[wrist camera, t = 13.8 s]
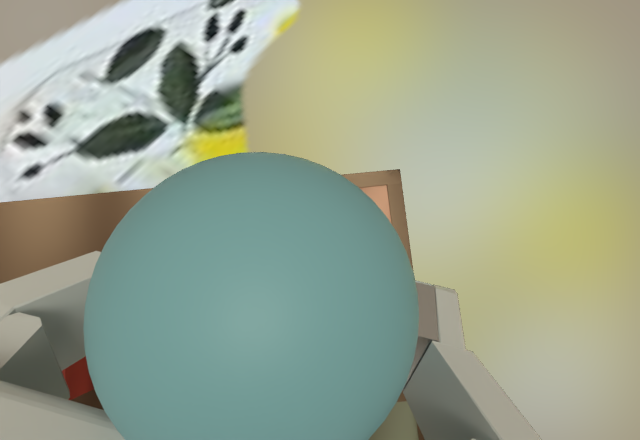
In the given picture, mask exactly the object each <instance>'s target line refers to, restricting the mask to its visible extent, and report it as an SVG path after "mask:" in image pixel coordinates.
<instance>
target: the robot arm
mask: <svg viewBox="0 0 640 440" xmlns="http://www.w3.org/2000/svg"><path fill="white" fill-rule="evenodd" d="M100 254H101V252H99V251H94V252H91V253H88V254H85V255H82V256H80V257H77V258H74V259H71V260H68V261H65V262H62V263H59V264H56V265H53V266H51V267H48V268H45V269H42V270H39V271H36V272H33V273H30V274H27V275H24V276H22V277H19V278H16V279H13V280H10V281H7V282H4V283H1V284H0V440H125V439H124V438H123V436H122V435H121V434H120V433H119V432H118V431H117V429H116V428H115V426H114V425H113V423H112V422H111V420H110V419H109V417H108V416H107V414H106V413H105V411H104V410H102V409H98V408H95V407H91V406H88V405H85V404H81V403H78V402H74V401H71V400H68V399H69V398H70V391H69V388H68V385H67V383H66V381H65V378H64V376H63V373H62V370H64V369H66V368H67V367H69V366H71V365H72V364H74V363H75V362H77V361H79V360H80V359H82V358H83V357H85V356H86V355H85V348H84V331H83V325H84V310H85V302H86V297H87V292H88V287H89V283H90V280H91V277H92V274H93V271H94V268H95V265H96V262H97V260H98V258H99V256H100ZM415 283H416V288H417V293H418V306H419V326H418V339H417V345H416V350H415V355H414V360H413V363H412V366H411V369H410V372H409V375H408V378H407V381H406V384H405V386H404V388H403V394H404V396H405V398H406V400H407V403H408V405H409V407H410V409H411V411H412V413H413V415H414V418H415V420H416V422H417V424H418V426H419V428H420V430H421V433H422V435H423V437H424V439H425V440H542V439H541V438H540V437H539V435H538V434H537V433H536V432H535V430H534V429H533V428H532V426H531V425H530V424H529V423H528V421H527V420H526V419H525V418H524V416H523V415H522V414H521V413H520V411H519V410H518V409H517V407H516V406H515V405H514V404H513V402H512V401H511V400H510V399H509V397H508V396H507V395H506V393H505V392H504V391H503V390H502V388H501V387H500V386H499V384H498V383H497V382H496V381H495V379H494V378H493V377H492V375H491V374H490V373H489V372H488V370H487V369H486V368H485V367H484V365H483V364H482V363H481V361H480V360H479V359H478V358H477V356H476V355H475V354H474V353H473V352H472V351H469V350H466V348H465V341H464V335H463V328H462V321H461V314H460V308H459V301H458V294H457V292H456V291H455V290H454V289H450V288H445V287H441V286H437V285H431V284H428V283H424V282H420V281H416V280H415Z"/></svg>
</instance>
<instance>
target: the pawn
mask: <svg viewBox="0 0 640 440" xmlns="http://www.w3.org/2000/svg"><path fill="white" fill-rule="evenodd" d="M418 326H419V306H418V293H417V288H416V283H415V278H414V273H413V270H412V267H411V264H410V261H409V258H408V255H407V252H406V250H405V248H404V246H403V244H402V242H401V239H400V237H399V235H398V233H397V232H396V230H395V229H394V227H393V226H392V224H391V223H390V221H389V219H388V218H387V216H386V215H385V214H384V213H383V212H382V210H381V209H380V208H379V207H378V206H377V205H376V203H375V202H374V201H373V200H372V199H371V198H370V197H369V196H368V195H366V194H365V193H364V192H363V191H362V190H361V189H360V188H359V187H358V186H356V185H355V184H353V183H352V182H350V181H349V180H348V179H346V178H345V177H343V176H342V175H340V174H338V173H336V172H334V171H332V170H330V169H328V168H327V167H325V166H322V165H320V164H317V163H315V162H312V161H309V160H306V159H303V158H298V157H294V156H289V155H286V154H276V153H266V152H257V153H255V152H254V153H237V154H231V155H224V156H219V157H216V158H212V159H209V160H205V161H202V162H199V163H197V164H195V165H192V166H190V167H188V168H185V169H183V170H181V171H179V172H177V173H176V174H174V175H172V176H171V177H169V178H167V179H165V180H164V181H162V182H161V183H160V184H159V185H157V186H156V187H155V188H153V189H152V190H151V191H149V192H148V193H147V194H146V195H145V196H143V197H142V198H141V199H140V200H139V201H138V202H137V203H136V204H135V205H134V206H133V207H132V208H131V209H130V210H129V211H128V213H127V214H126V215H125V216H124V217H123V219H122V220H121V221H120V222H119V224H118V225H117V226H116V228H115V229H114V231H113V232H112V234H111V236H110V237H109V239H108V240H107V242H106V244H105V245H104V247H103V250H102V252H101V254H100V256H99V258H98V260H97V262H96V265H95V268H94V271H93V274H92V277H91V280H90V283H89V287H88V292H87V297H86V302H85V310H84V325H83V331H84V348H85V355H86V360H87V365H88V370H89V374H90V377H91V380H92V383H93V386H94V389H95V392H96V394H97V396H98V398H99V400H100V402H101V405H102V407H103V409H104V411H105V413H106V414H107V416H108V417H109V419H110V420H111V422H112V423H113V425H114V426H115V428H116V429H117V431H118V432H119V433H120V434H121V435H122V436H123V438H124V439H125V440H368V439H369V438H370V437H371V436H372V435H373V434H374V432H375V431H376V430H377V429H378V428H379V427H380V425H381V424H382V423H383V422H384V421H385V419H386V418H387V416H388V415H389V413H390V411H391V410H392V408H393V407H394V405H395V404H396V402H397V400H398V398H399V396H400V394H401V392H402V390H403V388H404V386H405V384H406V381H407V378H408V375H409V372H410V369H411V366H412V363H413V360H414V355H415V350H416V345H417V339H418Z"/></svg>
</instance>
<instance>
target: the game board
mask: <svg viewBox="0 0 640 440" xmlns="http://www.w3.org/2000/svg"><path fill="white" fill-rule="evenodd" d="M342 176H343V177H345V178H346V179H348V180H349V181H350V182H352V183H353V184H355V185H356V186H358V187H359V188H360V189H361V190H362V191H363V192H364V193H365V194H366V195H368V196H369V197H370V198H371V199H372V200H373V201H374V202H375V203H376V205H377V206H378V207H379V208H380V209H381V210H382V212H383V213H384V214H385V215H386V216H387V218H388V219H389V221H390V223H391V224H392V226H393V227H394V229H395V230H396V232H397V233H398V235H399V237H400V239H401V242H402V244H403V246H404V248H405V250H406V252H407V255H408V258H409V261H410V264H411V267H412V270H413V266H412V258H411V251H410V243H409V235H408V228H407V221H406V212H405V205H404V197H403V190H402V182H401V175H400V169H397V170H387V171H377V172H365V173H355V174H344V175H342ZM152 189H153V188H151V189H141V190H130V191H119V192H109V193H98V194H87V195H77V196H66V197H55V198H45V199H34V200H23V201H13V202H2V203H0V284H1V283H4V282H7V281H10V280H13V279H16V278H19V277H22V276H24V275H27V274H30V273H33V272H36V271H39V270H42V269H45V268H48V267H51V266H53V265H56V264H59V263H62V262H65V261H68V260H71V259H74V258H77V257H80V256H82V255H85V254H88V253H91V252H94V251H99V252H102V250H103V247H104V245H105V244H106V242H107V240H108V239H109V237H110V236H111V234H112V232H113V231H114V229H115V228H116V226H117V225H118V224H119V222H120V221H121V220H122V219H123V217H124V216H125V215H126V214H127V213H128V211H129V210H130V209H131V208H132V207H133V206H134V205H135V204H136V203H137V202H138V201H139V200H140V199H141V198H142V197H143V196H145V195H146V194H147V193H148V192H149V191H151V190H152ZM62 373H63V376H64V378H65V381H66V383H67V385H68V388H69V391H70V398H69V399H68V400H71V401H74V402H78V403H81V404H85V405H88V406H91V407H95V408H98V409H102V410H104V409H103V407H102V405H101V402H100V400H99V398H98V396H97V394H96V392H95V389H94V386H93V383H92V380H91V377H90V374H89V370H88V365H87V360H86V356H85V357H83V358H82V359H80V360H79V361H77V362H75V363H74V364H72V365H71V366H69V367H67V368H66V369H64V370H62ZM368 440H425V439H424V437H423V435H422V433H421V430H420V428H419V426H418V424H417V422H416V420H415V418H414V415H413V413H412V411H411V409H410V407H409V405H408V403H407V400H406V398H405V396H404V394H403V390H402V392H401V394H400V396H399V398H398V400H397V402H396V404H395V405H394V407H393V408H392V410H391V411H390V413H389V415H388V416H387V418H386V419H385V421H384V422H383V423H382V424H381V425H380V427H379V428H378V429H377V430H376V431H375V432H374V434H373V435H372V436H371V437H370V438H369V439H368Z"/></svg>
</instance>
